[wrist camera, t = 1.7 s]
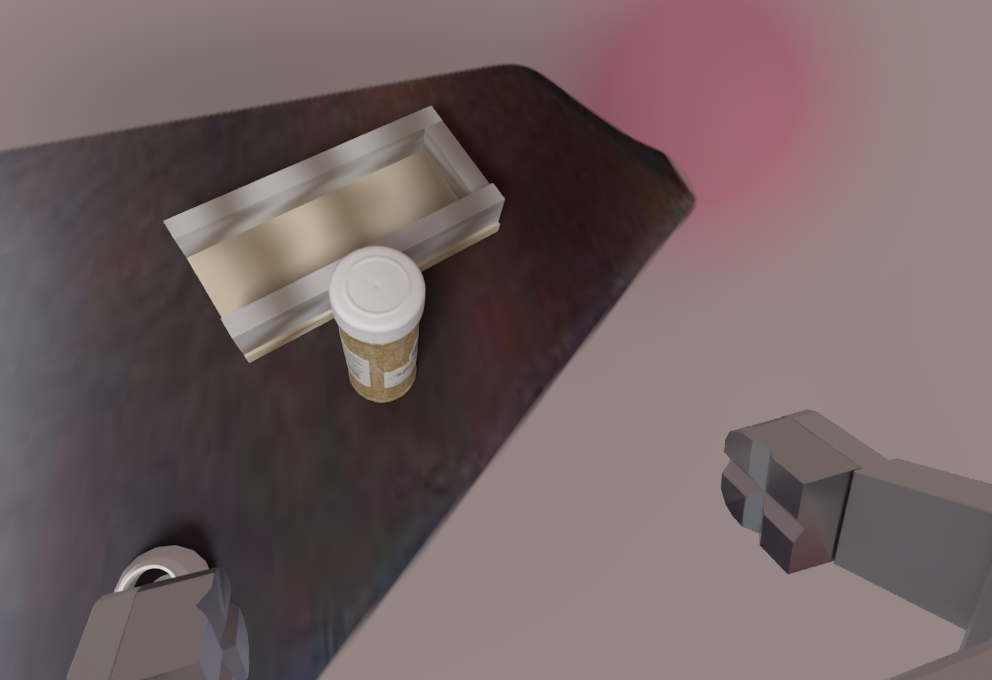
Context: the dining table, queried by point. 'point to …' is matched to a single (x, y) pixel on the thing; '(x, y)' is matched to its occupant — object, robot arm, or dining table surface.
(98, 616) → the robot arm
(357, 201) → the track
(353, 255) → the sprinkles bottle
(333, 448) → the dining table surface
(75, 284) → the dining table surface
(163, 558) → the lidless jar
